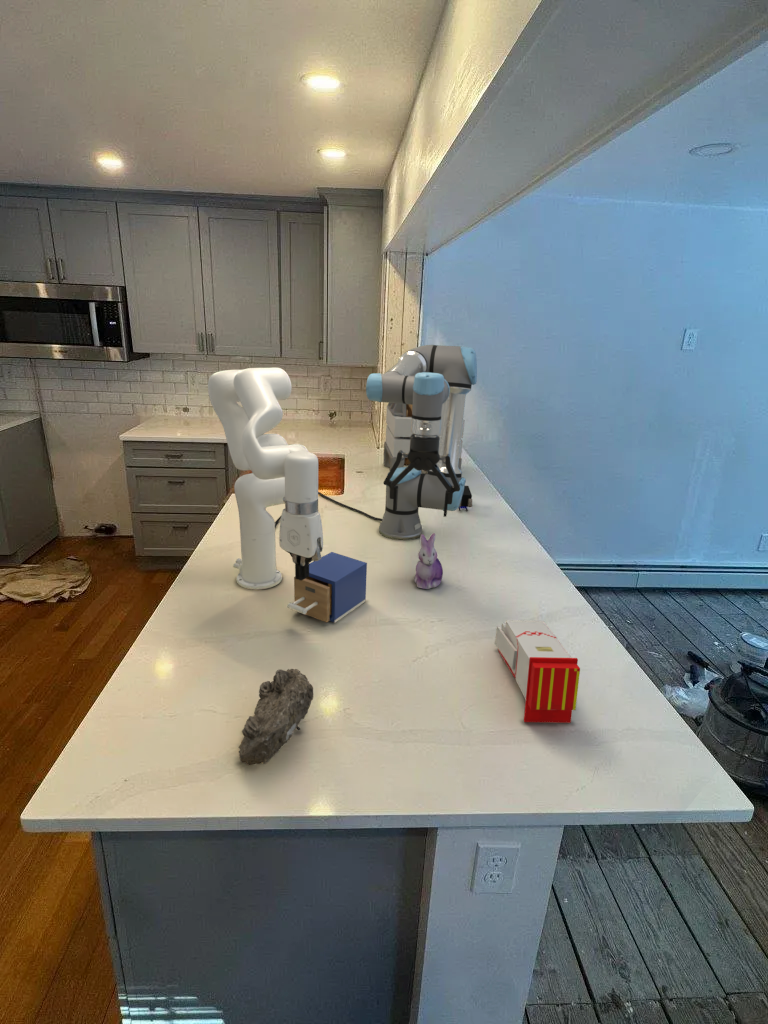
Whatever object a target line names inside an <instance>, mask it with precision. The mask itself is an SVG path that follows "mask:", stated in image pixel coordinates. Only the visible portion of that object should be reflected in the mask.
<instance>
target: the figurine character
mask: <svg viewBox="0 0 768 1024" xmlns="http://www.w3.org/2000/svg"><path fill="white" fill-rule="evenodd" d="M472 497H473V495H472V492H471V489H470V486H469V485H465V487H464V491H463V495H462V499H461V502H460V505H459V507H458V509H457V510H458V511H459V512H461V511H462V510H461V509H465V511H466V512H468V511H469V510H468V508H472V507H473V498H472Z"/></svg>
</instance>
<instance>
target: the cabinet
mask: <svg viewBox="0 0 768 1024" xmlns="http://www.w3.org/2000/svg"><path fill="white" fill-rule="evenodd" d="M367 570H368V562H366V561H362V560H359V559H356V558H354V557H349V556H346V555H344V554H340V553H336V552H334V551H330V552H329V553H327V554H326V555H323V556H321V559H320V560H319V561H311V562H310V563H309V577H312V578H315V579H317V580H320V581H323V582H326V583H329V584H332V614H331V615H330V621H329V622H332V623H333V624H335V623H337V622H338V621H340V620H341V619H343V618H344V617H345V616H347V615H349V614H350V613H351V612H353V611H354V610H356V609H357V608H359V607H360V606H361V605H362V604H364V603H366V602H367V573H368V571H367Z"/></svg>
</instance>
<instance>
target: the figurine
mask: <svg viewBox="0 0 768 1024" xmlns="http://www.w3.org/2000/svg"><path fill="white" fill-rule="evenodd" d="M436 536H437V535H436V533H435V532H433V533H431V534H430V537H429V539H427V538H426V536H425V535H424V534H423V533H422V534H421V536H420V537H419V538H420V540H419V541H420V548H419V550H418V553H417V557H418V560H419V561H418V562H416V565H415V575H414V580H413V581H414V583H415V585H416V587H417V588H418V589H419V588H420V589H423V590H430V589H432V588H437V587H438V586H439V585H440V584H441V583H442V580H443V575H444V569H443V565H442V563H441V560H440V559H439V558H438V552H437V549H436V548H435V542H436Z"/></svg>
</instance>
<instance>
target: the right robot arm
mask: <svg viewBox="0 0 768 1024" xmlns="http://www.w3.org/2000/svg"><path fill="white" fill-rule="evenodd" d="M477 379H478V360H477V353H476V350H475V349H474V348H473V347H470V346H462V345H460V346H459V345H457V346H456V345H441V344H440V345H438V344H425V345H420V346H417V347H413V348H411V349H409V350H407V351H405V352H404V353H402V354H401V356H400V357H399V358H398V360H397V363H395V364H394V365H393V366H392V367H390V368H389V369H388V370H387V371H385V372H384V373H381V372H377V373H375V372H374V373H370V374H369V375H368V377H367V380H366V385H365V394H366V397H367V399H368V400H369V401H371V402H378V403H401V404H412V405H413V407H412V421H411V433H412V435H411V437H410V451H409V453H406V452H403V451H402V450H400V451H399V452H398V454H397V459H396V462H395V463H394V465H393V467H392V468H391V470H390V469H389V472H388V473H387V475H386V476H385V479H384V480H383V483H382V484H383V485H384V486H385V504H384V505H385V507H384V508H385V509H384V513H383V515H382V518H380V517H375V516H373V515H370V514H369V513H367V512H364V511H363V510H360V509H357V508H355V507H352V506H349V505H347V504H344V503H342V502H339V501H337V500H335V499H334V498H331V497H330V496H329V497H328V496H327V495H325V494H323V493H321V492H320V491H318V496H321V497H322V498H324V499H326V500H328V501H330V502H332V503H334V504H336V505H339V506H341V507H343V508H345V509H348V510H351V511H354V512H355V513H358V514H361V515H363V516H365V517H367V518H369V519H371V520H374V521H378V522H379V526H378V533H379V534H380V535H381V536H382V537H385V538H387V539H389V540H395V541H410V540H415V539H418V538H420V536H421V534H423V525H422V524H421V518H420V515H419V508H422V509H430V510H431V509H432V510H440V511H443V517H444V518H447V515H448V512H455V511H457V510H459V509H458V507H459V505H460V502H461V499H462V495H463V491H464V487H465V486H466V478H465V477H463V476H462V475H463V472H462V469H461V470H460V469H459V468H458V463H459V454H460V444H461V440H462V438H461V435H462V426H463V419H464V417H465V406H466V397H467V394H468V393H469V392H470V391H472V385H473V386H474V385H476V384H477V382H478V380H477ZM406 457H408V459H409V461H410V464H409V465H408V466H407V465H406V466H404V467H401V468H397V467H398V466H399V464H400V462H401V460H404V459H405V458H406ZM422 471H424V472H427V473H422Z"/></svg>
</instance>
